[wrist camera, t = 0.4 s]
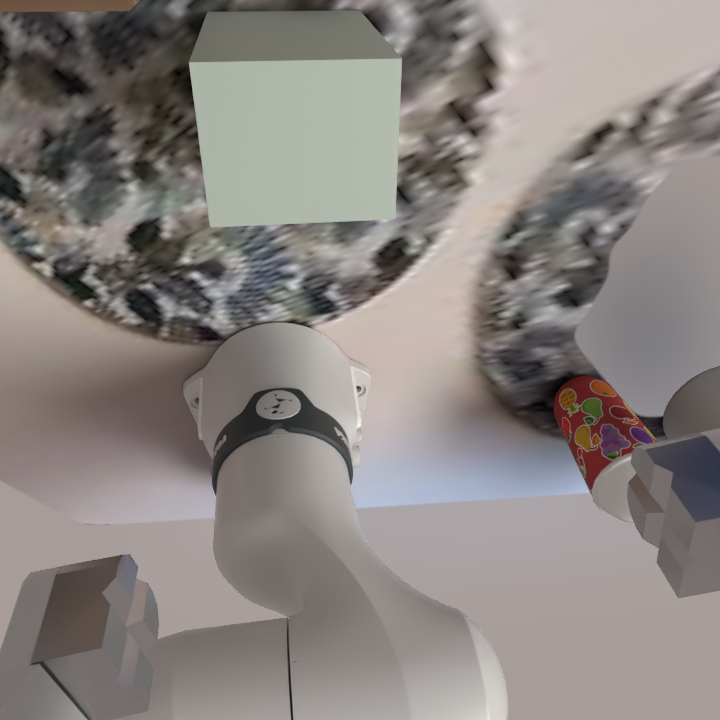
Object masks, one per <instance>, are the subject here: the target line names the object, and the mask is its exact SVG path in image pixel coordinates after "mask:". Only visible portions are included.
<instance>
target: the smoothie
mask: <svg viewBox="0 0 720 720" xmlns="http://www.w3.org/2000/svg"><path fill="white" fill-rule="evenodd" d="M553 411H554V415H555V418H556V420H557V422H558V425H559V427H560V429H561V431H562V433H563V435H564V437H565V439H566V442H567V444H568V446H569V448H570V450H571V452H572V454H573V457H574V459H575V461H576V463H577V465H578V467H579V469H580V472H581V474H582V476H583V478H584V480H585V482H586V484H587V487H588V489H589V491H590V493H591V495H592V497H593V501H594V503H595V504H596V505H597V507H598V508H599V509H601V510H603V511H605V512H607V513H609V514H611V515H613V516H614V517H617V518H618V519H620V520H623V521H625V522H630V523H634V521H633V519H632V517H631V514H630V510H629V505H628V500H627V489H628V482H629V481H630V480H631V479H632V478H633V476H634V475H635V474H636V471H635V470H634V468H633V467H632V465H631V456H632V451H633V450H634V449H635V447H636V446H639V445H643V444H648V443H652V442H657V439H656V438H655V437H654V436H653V435H652V434H651V432H650V431H649V430H648V429H647V428H646V427H645V425H644V424H643V423H642V422H641V421H640V420H639V418H638V417H637V416H636V415H635V414H634V413H633V411H632V410H631V409H630V408H629V407H628V406H627V404H626V403H625V402H624V401H623V400H622V399H621V397H620V396H619V395H618V394H617V393H616V392H615V390H614V389H613V388H612V387H611V386H610V385H609V383H607V382H605V381H604V380H601V379H597V378H596V377H593V376H579V377H576V378H573V379H571V380H569V381H568V382H566V383H565V384H564V385H563V386H562V387H561V388H560V389H559V390H558V392H557V393H556V395H555V400H554V409H553Z"/></svg>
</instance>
